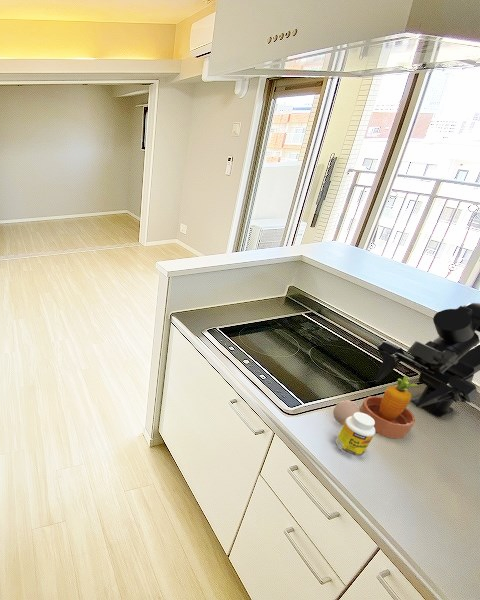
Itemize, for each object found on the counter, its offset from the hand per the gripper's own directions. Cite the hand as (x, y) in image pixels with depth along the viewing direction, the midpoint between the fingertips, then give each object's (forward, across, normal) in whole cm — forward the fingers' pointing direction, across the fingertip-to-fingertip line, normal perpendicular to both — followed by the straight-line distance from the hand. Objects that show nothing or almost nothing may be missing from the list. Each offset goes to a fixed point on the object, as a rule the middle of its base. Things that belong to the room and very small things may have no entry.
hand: (395, 393), depth 81 cm
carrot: (+7, 0, +8) cm, 11 cm away
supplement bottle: (+18, +3, -2) cm, 18 cm away
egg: (+14, -4, +2) cm, 14 cm away
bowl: (+7, 0, +9) cm, 11 cm away
